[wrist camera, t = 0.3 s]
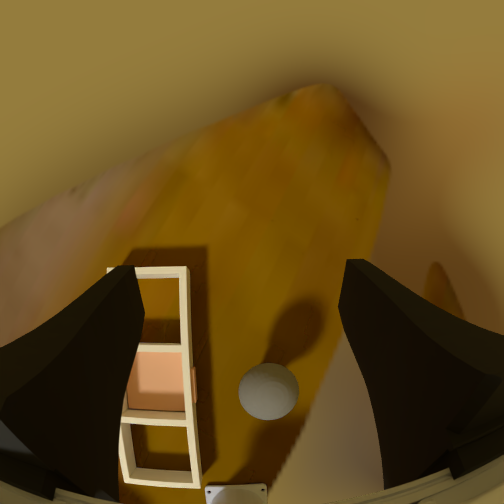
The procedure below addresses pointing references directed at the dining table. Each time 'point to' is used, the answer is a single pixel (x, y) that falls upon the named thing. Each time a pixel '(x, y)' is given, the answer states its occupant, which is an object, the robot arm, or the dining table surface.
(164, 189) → the dining table surface
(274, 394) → the light bulb
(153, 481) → the rack
